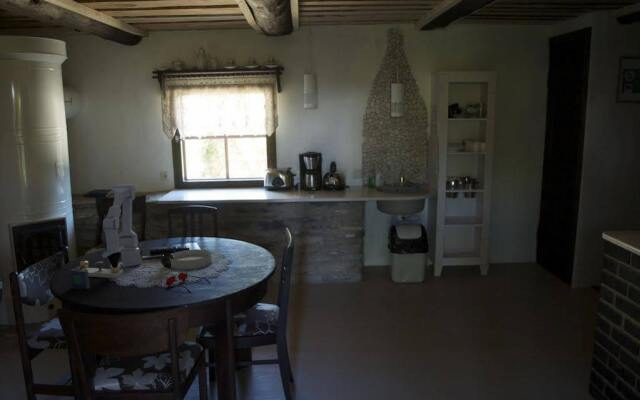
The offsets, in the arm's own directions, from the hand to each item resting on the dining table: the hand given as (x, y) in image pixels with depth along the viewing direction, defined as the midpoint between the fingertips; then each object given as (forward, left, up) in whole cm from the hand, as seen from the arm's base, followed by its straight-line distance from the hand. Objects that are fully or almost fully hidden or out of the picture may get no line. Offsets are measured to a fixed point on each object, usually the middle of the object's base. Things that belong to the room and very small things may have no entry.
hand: (115, 267), depth 256 cm
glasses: (-27, +36, -5) cm, 46 cm away
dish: (-39, +1, -5) cm, 39 cm away
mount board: (+6, -6, -4) cm, 10 cm away
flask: (+17, +11, -5) cm, 21 cm away
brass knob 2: (0, 0, -4) cm, 4 cm away
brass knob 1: (+13, -13, -2) cm, 18 cm away
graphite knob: (+6, -6, -2) cm, 9 cm away
